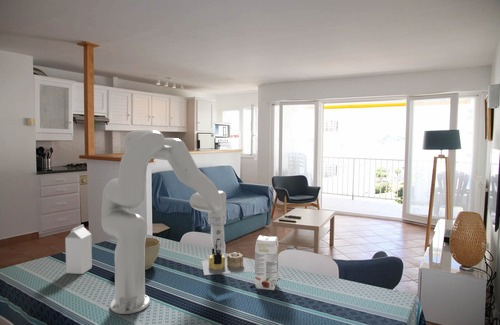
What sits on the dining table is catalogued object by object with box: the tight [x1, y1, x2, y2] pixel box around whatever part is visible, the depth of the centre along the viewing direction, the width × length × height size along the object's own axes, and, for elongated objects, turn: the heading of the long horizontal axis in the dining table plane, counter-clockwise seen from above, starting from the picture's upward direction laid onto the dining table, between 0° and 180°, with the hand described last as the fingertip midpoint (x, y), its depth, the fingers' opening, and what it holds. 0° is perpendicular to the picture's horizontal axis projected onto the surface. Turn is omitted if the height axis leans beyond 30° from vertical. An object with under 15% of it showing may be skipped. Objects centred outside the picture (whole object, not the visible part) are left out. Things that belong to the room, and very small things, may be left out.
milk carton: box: [64, 224, 93, 275], centre depth 141 cm, size 7×7×19 cm
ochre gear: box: [208, 253, 226, 270], centre depth 145 cm, size 7×7×4 cm
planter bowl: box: [145, 236, 161, 271], centre depth 147 cm, size 16×16×11 cm
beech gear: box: [226, 252, 244, 268], centre depth 147 cm, size 7×7×4 cm
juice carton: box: [254, 234, 279, 291], centre depth 129 cm, size 8×9×19 cm
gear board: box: [201, 252, 253, 276], centre depth 146 cm, size 16×20×7 cm
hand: (216, 260), depth 145 cm, fingers open, 7 cm apart
